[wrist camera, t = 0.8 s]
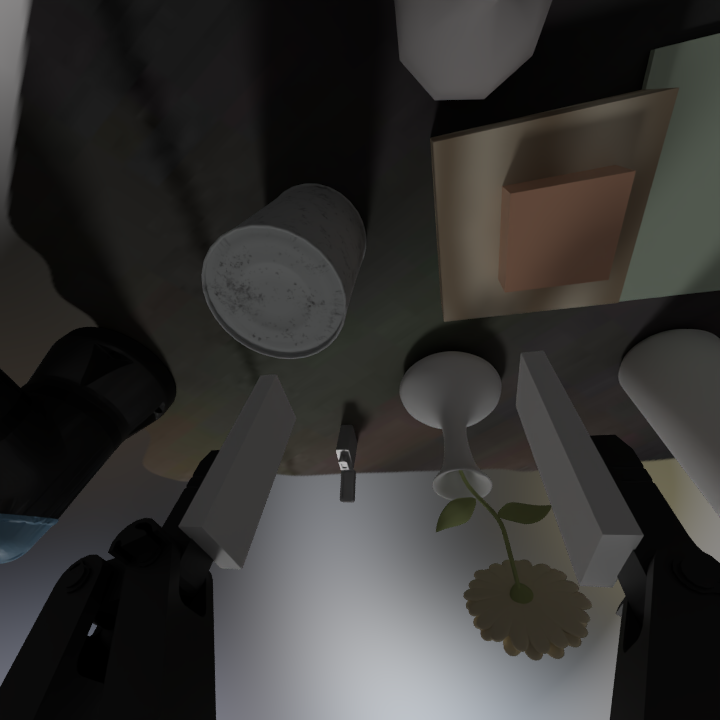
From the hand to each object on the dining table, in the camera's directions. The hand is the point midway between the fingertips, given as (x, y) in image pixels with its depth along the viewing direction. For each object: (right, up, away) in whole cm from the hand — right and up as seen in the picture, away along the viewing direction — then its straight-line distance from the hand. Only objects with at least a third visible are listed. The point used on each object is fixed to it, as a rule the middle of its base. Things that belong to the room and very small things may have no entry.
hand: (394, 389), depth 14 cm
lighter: (-3, -11, +35) cm, 37 cm away
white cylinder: (-6, +13, +18) cm, 22 cm away
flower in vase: (+10, -1, +26) cm, 28 cm away
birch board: (+12, +13, +14) cm, 23 cm away
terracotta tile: (+13, +11, +11) cm, 20 cm away
